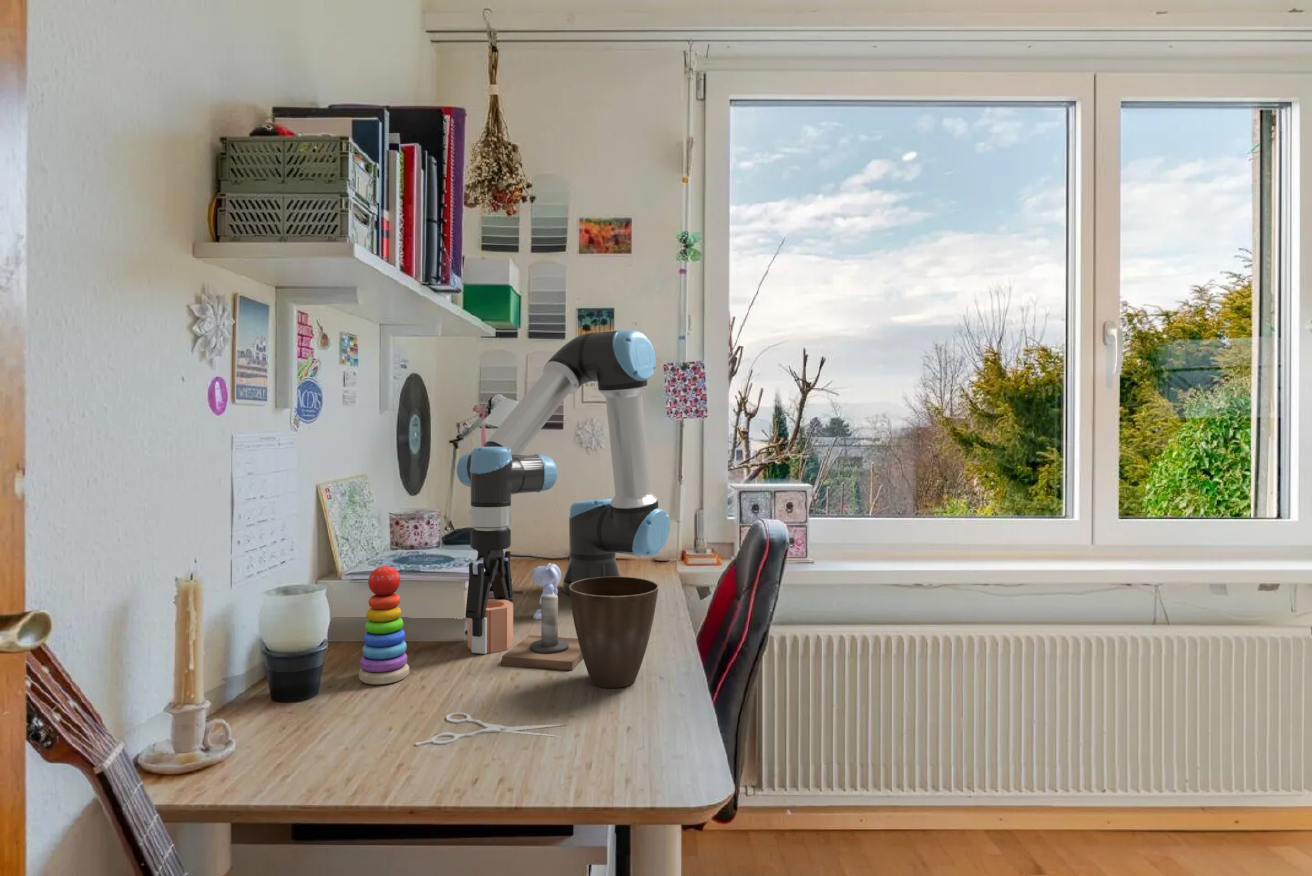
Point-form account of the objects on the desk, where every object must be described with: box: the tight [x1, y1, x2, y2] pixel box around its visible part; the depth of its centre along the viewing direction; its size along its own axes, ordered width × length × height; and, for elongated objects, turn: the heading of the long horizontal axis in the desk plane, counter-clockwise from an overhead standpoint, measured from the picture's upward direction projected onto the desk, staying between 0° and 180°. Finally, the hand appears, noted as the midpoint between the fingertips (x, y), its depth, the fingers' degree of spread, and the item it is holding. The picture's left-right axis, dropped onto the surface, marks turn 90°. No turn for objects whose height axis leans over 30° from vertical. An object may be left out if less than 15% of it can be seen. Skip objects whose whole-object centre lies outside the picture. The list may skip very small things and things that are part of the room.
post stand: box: [501, 594, 584, 671], centre depth 135 cm, size 13×13×11 cm
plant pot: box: [569, 576, 659, 689], centre depth 123 cm, size 15×15×16 cm
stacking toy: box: [358, 565, 410, 685], centre depth 123 cm, size 8×8×19 cm
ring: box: [467, 598, 514, 654], centre depth 141 cm, size 8×8×8 cm
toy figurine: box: [530, 562, 562, 620], centre depth 162 cm, size 7×6×12 cm
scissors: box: [414, 712, 563, 747], centre depth 103 cm, size 11×1×20 cm
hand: (490, 644), depth 141 cm, fingers open, 9 cm apart
